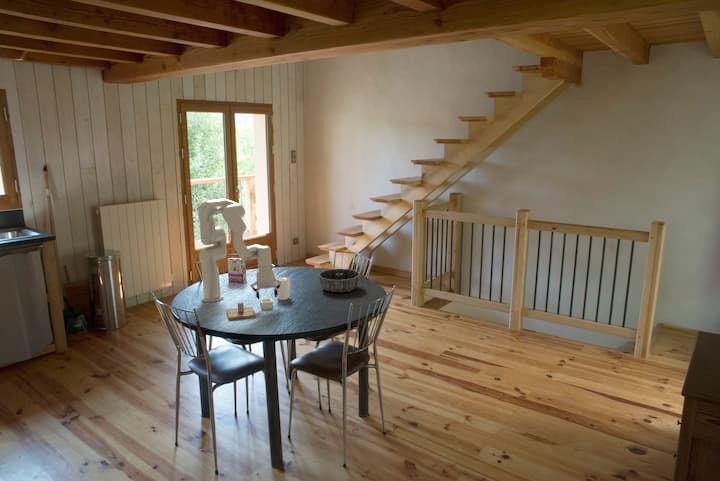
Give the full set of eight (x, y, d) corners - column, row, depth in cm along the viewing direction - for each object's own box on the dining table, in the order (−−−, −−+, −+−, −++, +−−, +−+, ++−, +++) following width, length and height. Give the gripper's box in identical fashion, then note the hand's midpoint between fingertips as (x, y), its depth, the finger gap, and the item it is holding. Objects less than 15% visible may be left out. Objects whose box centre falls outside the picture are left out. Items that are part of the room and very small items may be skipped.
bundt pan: (360, 295, 302) (359, 279, 300) (316, 295, 303) (316, 279, 301) (360, 283, 328) (360, 268, 326) (320, 283, 329) (320, 268, 327)
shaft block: (226, 312, 274) (226, 301, 273) (252, 309, 279) (251, 298, 277) (229, 320, 261) (228, 308, 260) (256, 317, 266) (255, 305, 264)
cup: (276, 301, 293) (275, 281, 291) (275, 296, 302) (274, 277, 299) (291, 299, 295) (290, 280, 292) (290, 295, 303) (289, 276, 301)
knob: (273, 308, 280) (272, 301, 279) (261, 309, 278) (261, 302, 277) (270, 303, 288) (270, 297, 287) (259, 305, 286) (259, 298, 285)
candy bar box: (247, 281, 334) (245, 258, 331) (243, 283, 330) (241, 259, 326) (232, 280, 337) (230, 257, 334) (228, 282, 333) (226, 258, 330)
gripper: (279, 265, 284) (281, 294, 287) (248, 268, 278) (250, 297, 281) (281, 267, 277) (283, 297, 280) (250, 271, 271) (252, 301, 274)
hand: (267, 297), depth 281 cm, fingers open, 9 cm apart
